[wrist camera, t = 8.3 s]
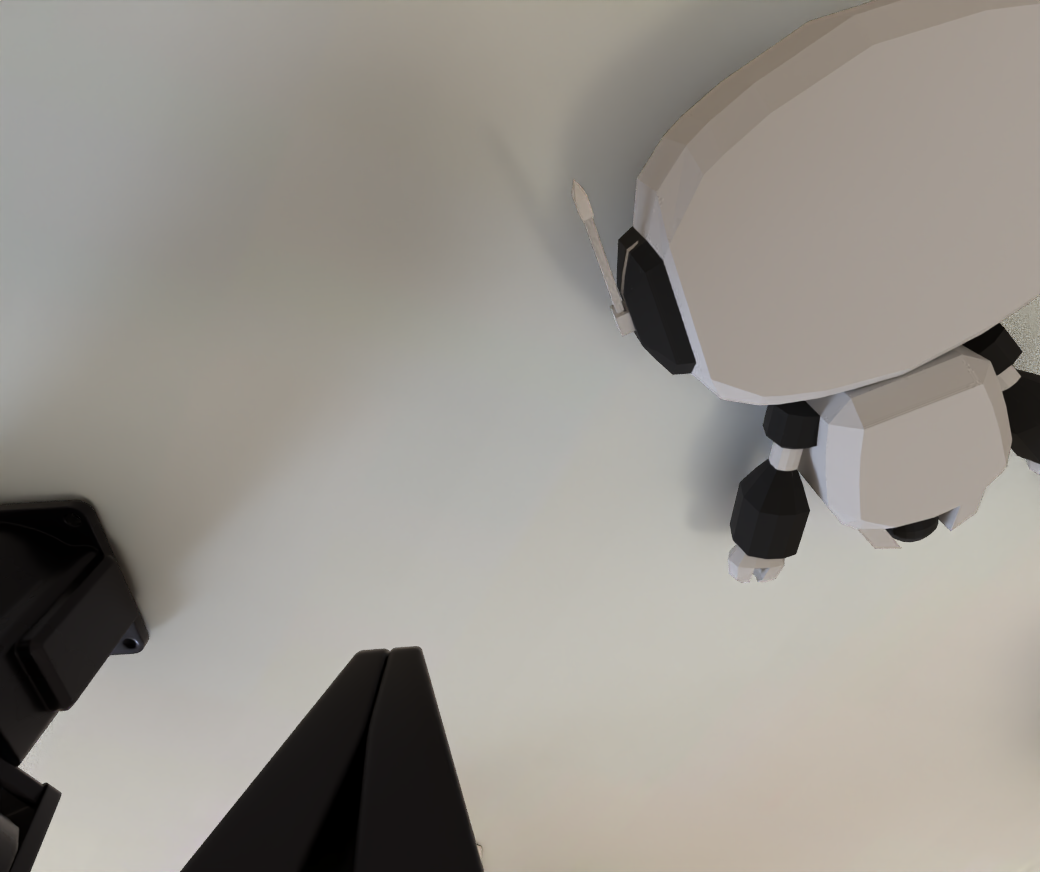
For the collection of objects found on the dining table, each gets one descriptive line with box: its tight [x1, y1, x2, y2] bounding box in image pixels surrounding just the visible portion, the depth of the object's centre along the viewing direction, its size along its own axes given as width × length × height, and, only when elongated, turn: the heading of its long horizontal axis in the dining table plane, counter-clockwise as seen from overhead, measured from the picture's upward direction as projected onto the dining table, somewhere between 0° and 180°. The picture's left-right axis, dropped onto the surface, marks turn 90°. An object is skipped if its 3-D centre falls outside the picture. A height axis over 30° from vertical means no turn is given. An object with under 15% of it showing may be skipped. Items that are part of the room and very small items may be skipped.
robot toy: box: [571, 0, 1040, 583], centre depth 17 cm, size 12×4×15 cm
